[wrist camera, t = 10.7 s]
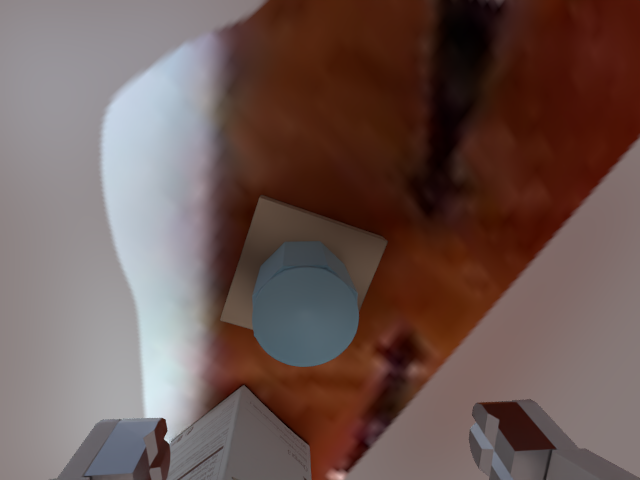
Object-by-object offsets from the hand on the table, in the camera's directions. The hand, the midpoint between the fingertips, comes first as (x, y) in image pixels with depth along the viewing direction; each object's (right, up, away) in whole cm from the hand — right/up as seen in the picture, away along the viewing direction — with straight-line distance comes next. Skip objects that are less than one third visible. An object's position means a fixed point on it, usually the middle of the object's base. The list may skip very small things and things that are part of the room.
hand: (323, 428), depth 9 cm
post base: (-1, +3, +13) cm, 13 cm away
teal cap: (-1, +2, +12) cm, 12 cm away
